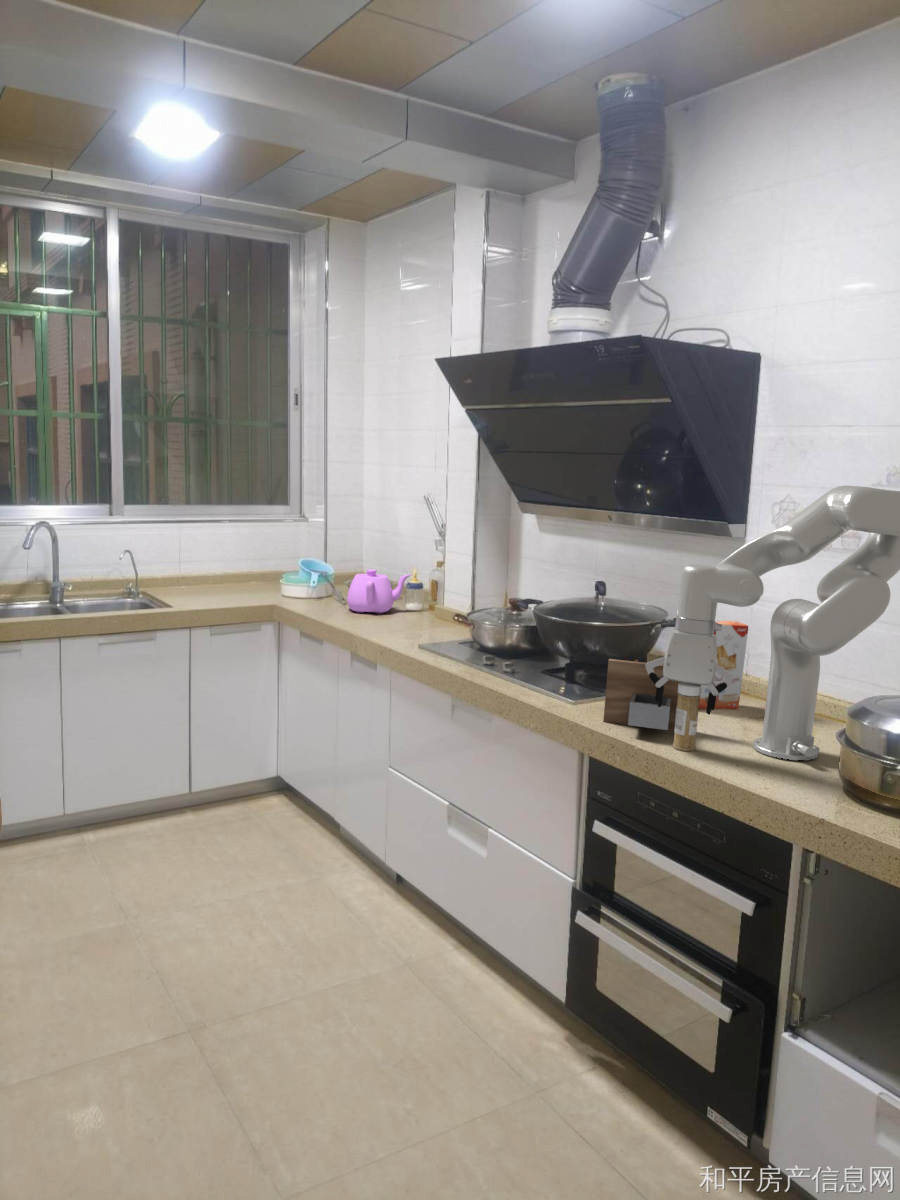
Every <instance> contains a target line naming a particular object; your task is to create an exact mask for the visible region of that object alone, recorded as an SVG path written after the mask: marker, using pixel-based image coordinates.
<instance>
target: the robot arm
mask: <svg viewBox="0 0 900 1200" xmlns="http://www.w3.org/2000/svg"><path fill="white" fill-rule="evenodd" d="M848 531H856V532H857V531H858V532H862V533H863V532H865V533H868V536H867V538H866V540H865V541H864V542H863V543H862V545H861V546H860V547H859V548H858V549H856V550H855V551H854V552H853V553H852V554H850V555H849V556H848V557H847V558H845V559H844V560H842V561H841V562H840V563H839V564H838V565H836V566H835V567H833V569H831V570H830V571H828V572H827V573H826V574H825V575H824V576H823V577H822V578H821V579H820V581H819V582H818V584H817V587H816V594H817V596H816V597H817V599H818V600H819V601H820V603H819V604H818V603H816V602H812V601H810V600H807V599H802V598H791V599H787V600H785V601H784V602H782V603H780V604H779V605H778V606H777V607H776V609H775V610H774V611H773V614H772V615H771V619H770V662H769V671H768V678H767V679H768V681H767V690H766V699H765V708H764V719H763V725H762V735H761V737H757V738H756V739H754V740H753V744H752V747H753V748H754V749H755V750H756V751H757V752H759V753H761V754H763V755H766V756H769V757H772V758H776V757H777V758H778V759H781V758H783V759H782V760H787V759H789V761H798V760H804V761H812V760H814V759H816V758H818V757H819V753H820V750H821V749H820V747H819V746H817V745H815V744H814V743H815V736H813V729H814V724H815V723H814V721H815V715H816V706H817V705H816V704H817V698H818V688H819V681H820V674H821V672H820V671H821V656H822V657H823V656H827V655H831V654H833V653H835V652H837V651H838V650H841V648H843V647H845V645H847V644H849V642H851V641H852V640H854V639H855V638H856V637H857V636H859V635H860V634H861V633H863V632H864V631H865V630H866V629H867V628H869V627H870V626H872V624H874V623H875V622H876V621H877V620H878V619H880V618H881V616H882V615H884V613H885V612H886V610H887V608H888V606H889V604H890V602H891V588H890V585H889V584H888V581H890V580H891V579H892V578H893V577H895V575H897V573H899V571H900V490H891V489H884V488H883V489H881V488H877V487H876V488H875V487H869V486H857V485H839V486H836V487H834V488H832V489H830V490H828V491H827V492H826V493H824V494H823V495H821V496H820V497H819V498H818V499H817V498H816V500H815V501H813V502H811V504H809V505H808V506H807V507H806V508H804V509H802V510H801V511H800V512H799V513H797V514H796V515H794V516H793V517H791V518H790V519H789V520H788V521H786V522H785V523H783V524H782V525H781V526H779V527H778V528H777V527H776V529H773V530H770V531H769V532H767V533H765V534H763V535H761V536H760V537H758V538H756V539H753V540H752V541H750V542H748V543H746V544H744V545H742V546H741V547H740V548H738V549H737V550H735V551H734V552H732V553H731V554H730V555H729V556H727V557H726V558H725V559H723V560H722V561H721V562H719V563H718V564H717V565H716V566H712V565H705V564H695V563H693V564H692V563H691V564H686V565H684V566H683V568H682V571H681V577H680V585H679V592H678V593H679V594H678V601H677V609H676V619H675V625H674V626H675V627H674V629H673V628H672V629H671V630H670V632H669V635H668V639H667V643H666V646H665V647H666V648H665V653H664V656H661V657H659V658H656V659H653V660H650V661H647V662H645V663H646V664H645V667H646V670H647V672H648V675H649V677H650V679H651V680H652V681H653V683H654V684H655V685H656V687H657V689H656V697H655V702H658V707H661V706H662V699H663V691H664V686H663V684H665V683H666V682H667V681H668V680H673V681H679V682H686V683H693V684H701V685H706V686H707V687H708V688H709V690H710V693H709V696H708V703H707V709H706V714H707V715H709V716H710V715H711V711H715V710H716V709H715V701H716V696H717V695H718V694H719V693H720V692H721V691H723V690H724V689H726V688H727V686H728V685H729V683H730V682H731V681H732V679H733V674H731V673H730V672H728V671H727V670H725V669H724V668H722V667H721V666H719V665H718V664H716V659H717V636H716V635H714V634H713V633H714V632H715V631H717V630H719V631H721V629H722V624H718V623H716V622H715V621H716V616H717V607H718V604H719V603H720V604H725V605H730V606H734V607H739V608H745V607H750V606H753V605H755V604H757V603H758V602H759V601H760V600H761V598H762V596H763V595H764V590H765V588H764V584H763V583H764V582H763V581H762V578H761V576H763V575H765V574H767V573H769V572H771V571H773V570H775V569H779V568H783V567H787V566H792V565H797V564H800V563H803V562H806V561H808V560H810V559H812V558H814V557H815V556H816V555H818V554H819V553H820V552H822V550H824V549H825V548H827V547H828V546H830V545H831V544H832V543H833V542H835V541H836V540H837V539H839V538H841V537H842V536H843V535H845V534H846V533H847V532H848ZM659 665H663V675H662V676H661V677H660V678H659V677H658V676H657V675H656V674H655V672H654V669H653V668H654V667H656V666H659ZM715 671H716V672H717V673H719V674H720V675H722V676H723V677H724V680H723V681H722V682H721V683H720V684H718V685H717V686H716V685H715V684H714V682H713V681H714V677H715ZM777 758H776V759H777ZM811 759H812V760H811Z"/></svg>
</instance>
